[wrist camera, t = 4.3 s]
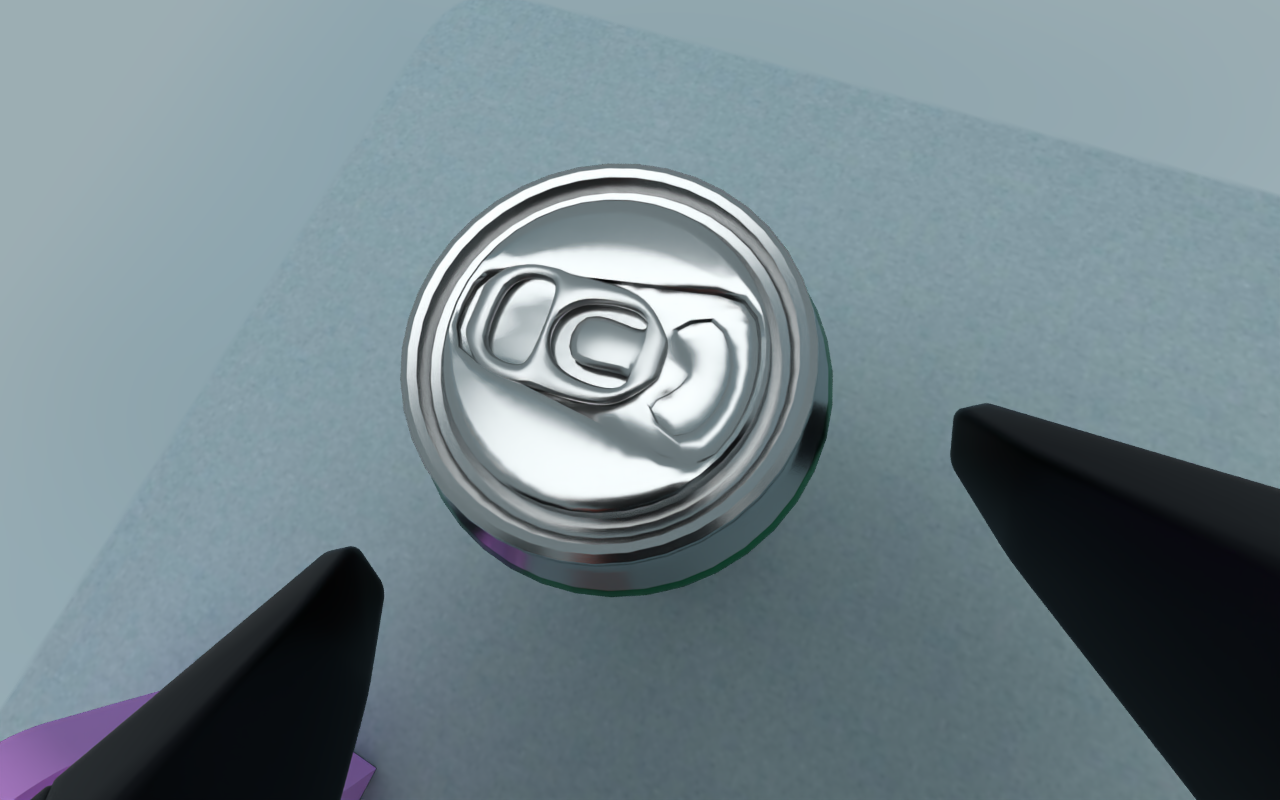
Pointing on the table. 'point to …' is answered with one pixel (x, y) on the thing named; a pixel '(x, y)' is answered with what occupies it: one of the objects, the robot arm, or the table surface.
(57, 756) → the bracket
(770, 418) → the soda can
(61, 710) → the table surface
